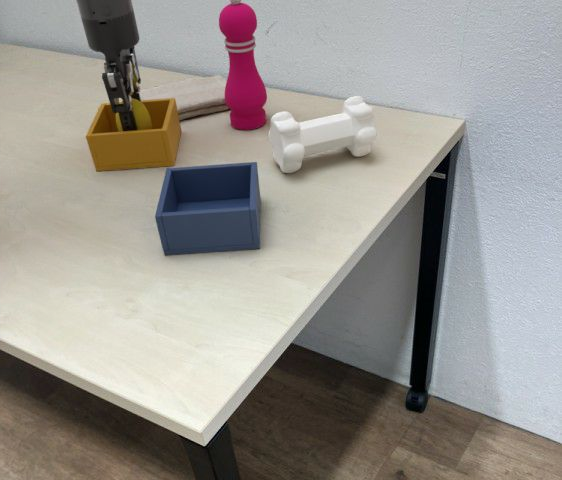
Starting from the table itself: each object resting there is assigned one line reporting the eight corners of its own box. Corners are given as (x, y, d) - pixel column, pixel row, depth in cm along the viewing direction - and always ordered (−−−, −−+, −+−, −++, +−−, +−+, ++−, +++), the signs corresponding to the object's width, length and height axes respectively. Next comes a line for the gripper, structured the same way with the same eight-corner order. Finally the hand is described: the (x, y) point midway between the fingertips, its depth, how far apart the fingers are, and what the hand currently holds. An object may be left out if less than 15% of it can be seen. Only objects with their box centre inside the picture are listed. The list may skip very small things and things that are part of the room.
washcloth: (246, 106, 112) (245, 89, 109) (152, 129, 107) (148, 111, 105) (225, 85, 119) (223, 69, 117) (136, 106, 115) (132, 89, 113)
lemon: (134, 157, 98) (122, 107, 93) (116, 147, 101) (103, 98, 96) (162, 145, 101) (152, 95, 95) (144, 135, 104) (133, 87, 98)
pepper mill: (253, 110, 110) (241, -18, 96) (277, 122, 106) (267, -10, 92) (220, 122, 108) (202, -7, 93) (242, 135, 103) (227, 1, 89)
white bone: (355, 139, 99) (356, 87, 94) (378, 161, 94) (381, 108, 88) (268, 158, 97) (264, 107, 91) (287, 183, 91) (283, 129, 85)
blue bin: (164, 255, 80) (154, 216, 75) (174, 205, 88) (166, 168, 84) (260, 249, 79) (255, 209, 75) (260, 199, 88) (256, 161, 84)
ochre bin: (96, 171, 98) (85, 136, 93) (110, 137, 106) (100, 103, 102) (173, 165, 97) (166, 130, 93) (181, 131, 106) (175, 97, 102)
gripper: (90, -3, 92) (119, 109, 104) (69, 27, 82) (103, 147, 94) (139, -7, 92) (162, 106, 104) (124, 22, 82) (151, 143, 94)
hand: (134, 125), depth 99 cm, fingers open, 6 cm apart
